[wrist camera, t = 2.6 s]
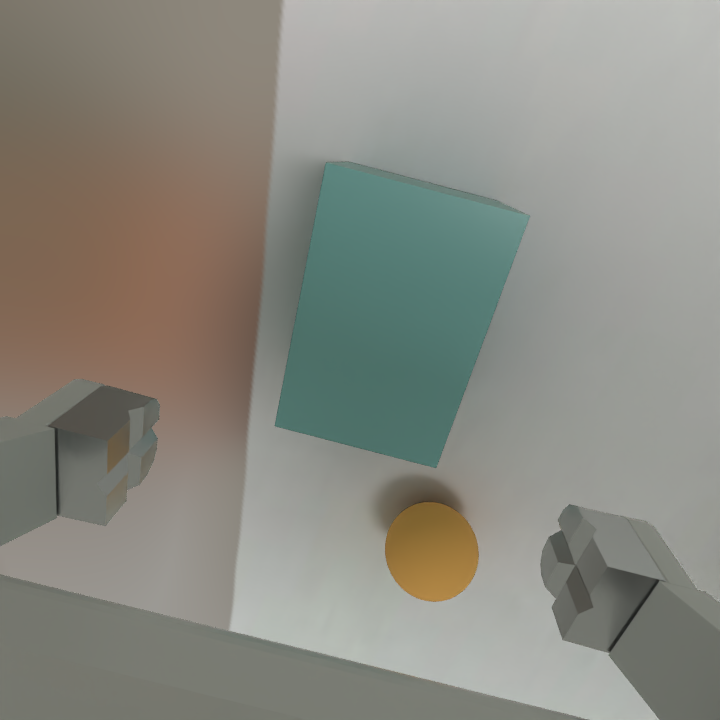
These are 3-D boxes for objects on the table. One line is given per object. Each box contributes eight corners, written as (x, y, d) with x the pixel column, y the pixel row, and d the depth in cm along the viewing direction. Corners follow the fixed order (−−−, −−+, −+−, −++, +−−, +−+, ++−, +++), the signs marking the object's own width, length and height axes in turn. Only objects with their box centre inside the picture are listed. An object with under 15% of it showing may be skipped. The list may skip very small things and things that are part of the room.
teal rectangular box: (348, 161, 21) (325, 162, 15) (497, 200, 21) (529, 216, 15) (305, 365, 25) (274, 426, 19) (430, 398, 25) (436, 467, 19)
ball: (447, 470, 27) (455, 535, 22) (487, 533, 28) (502, 606, 24) (371, 503, 28) (364, 569, 24) (413, 561, 30) (413, 634, 25)
